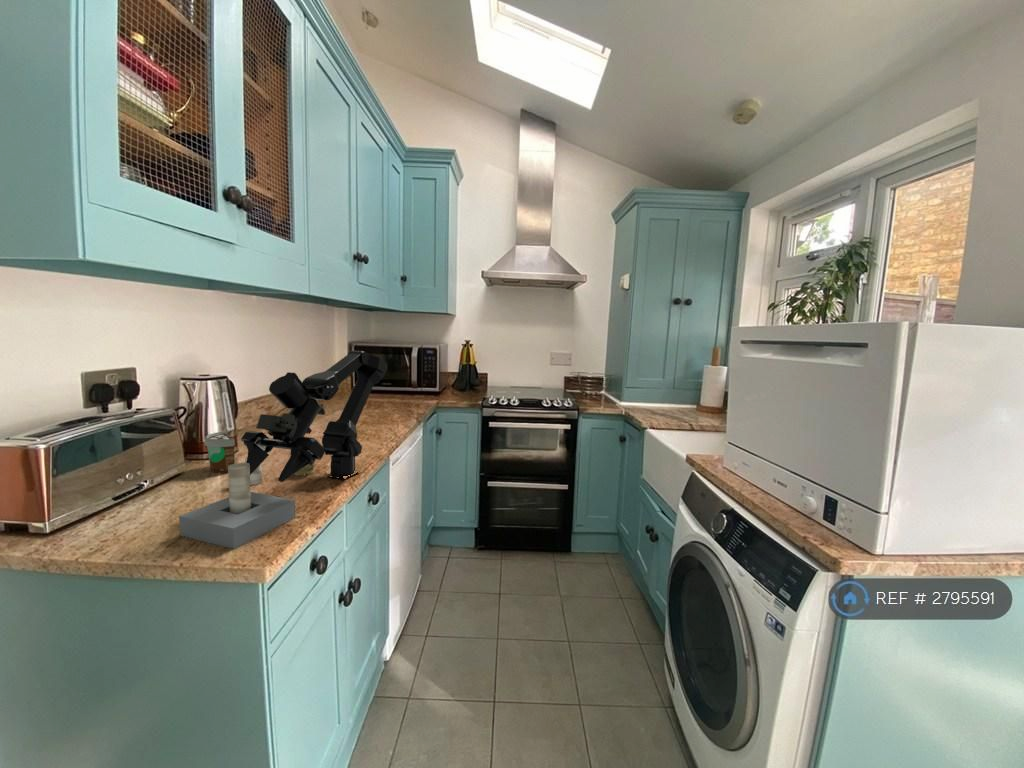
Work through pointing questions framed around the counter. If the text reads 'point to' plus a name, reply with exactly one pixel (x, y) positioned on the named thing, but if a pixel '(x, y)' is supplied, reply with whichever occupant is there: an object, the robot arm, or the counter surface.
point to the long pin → (239, 487)
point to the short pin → (256, 475)
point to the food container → (220, 451)
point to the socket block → (236, 520)
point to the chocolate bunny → (306, 469)
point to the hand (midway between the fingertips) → (262, 478)
